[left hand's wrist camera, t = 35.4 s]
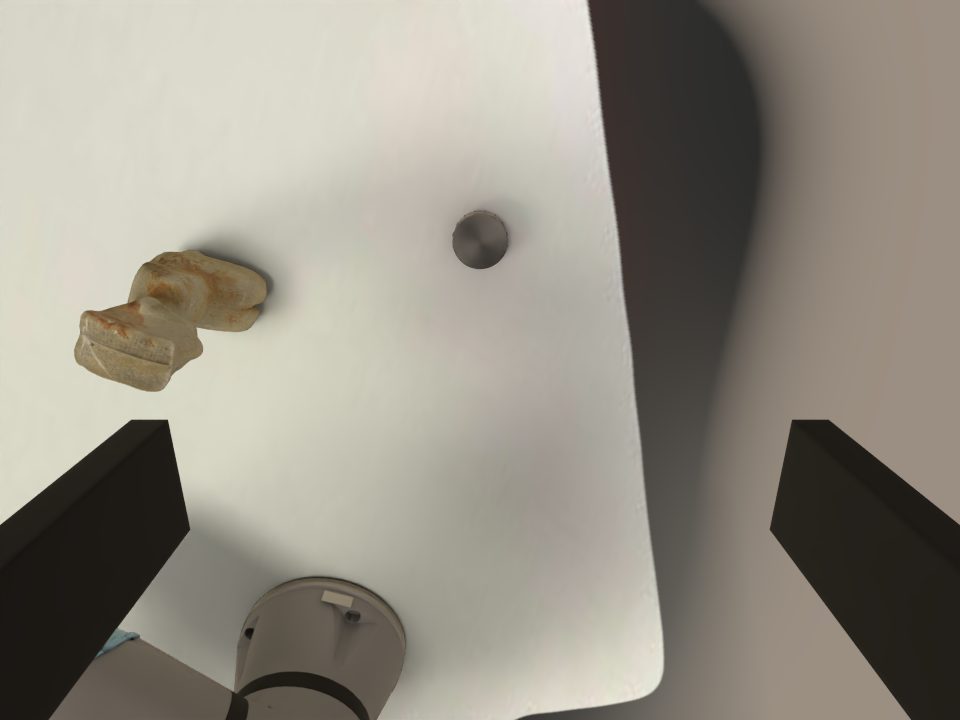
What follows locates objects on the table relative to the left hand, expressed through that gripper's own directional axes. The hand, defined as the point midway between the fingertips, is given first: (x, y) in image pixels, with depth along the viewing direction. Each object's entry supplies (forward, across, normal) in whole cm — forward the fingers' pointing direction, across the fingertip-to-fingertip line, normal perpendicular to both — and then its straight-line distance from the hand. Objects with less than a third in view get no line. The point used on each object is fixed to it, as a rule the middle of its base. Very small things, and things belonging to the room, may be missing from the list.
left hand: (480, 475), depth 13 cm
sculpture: (+33, +19, +3) cm, 38 cm away
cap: (+31, 0, 0) cm, 31 cm away
